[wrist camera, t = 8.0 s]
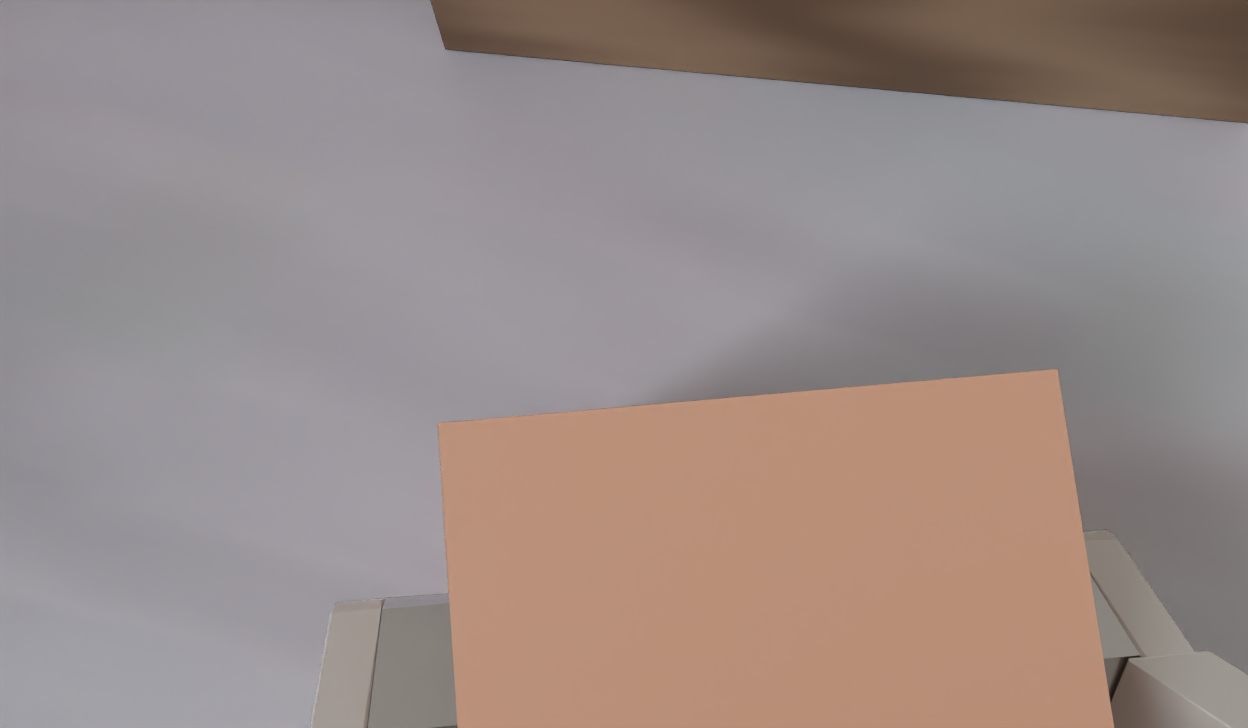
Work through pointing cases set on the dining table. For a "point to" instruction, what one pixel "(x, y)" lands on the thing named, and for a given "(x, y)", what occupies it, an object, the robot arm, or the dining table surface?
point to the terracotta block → (775, 562)
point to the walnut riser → (901, 45)
